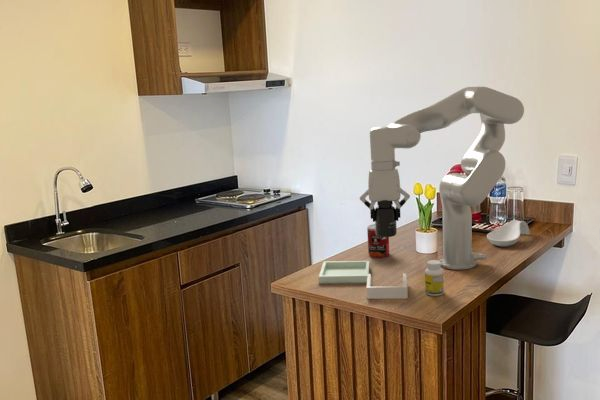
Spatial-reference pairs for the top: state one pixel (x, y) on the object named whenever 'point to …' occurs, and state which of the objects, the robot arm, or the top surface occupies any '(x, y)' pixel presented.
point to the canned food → (377, 243)
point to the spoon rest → (508, 233)
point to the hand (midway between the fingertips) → (385, 219)
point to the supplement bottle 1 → (385, 219)
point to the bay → (387, 290)
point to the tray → (344, 272)
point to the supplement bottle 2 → (434, 278)
